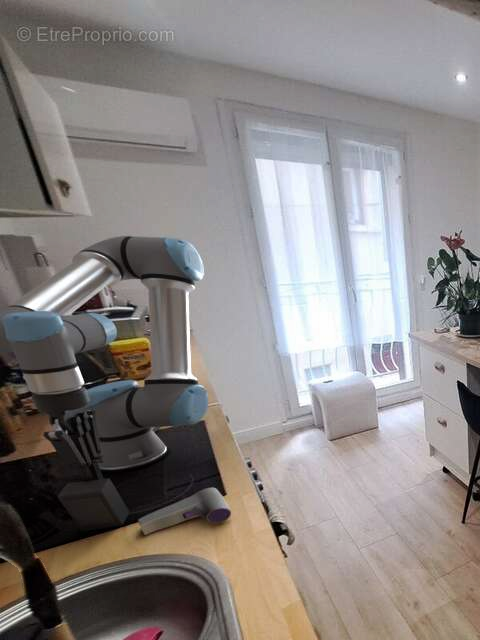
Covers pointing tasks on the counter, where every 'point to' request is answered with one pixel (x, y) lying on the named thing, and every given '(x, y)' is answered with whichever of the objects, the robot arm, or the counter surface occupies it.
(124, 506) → the block
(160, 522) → the infrared thermometer
